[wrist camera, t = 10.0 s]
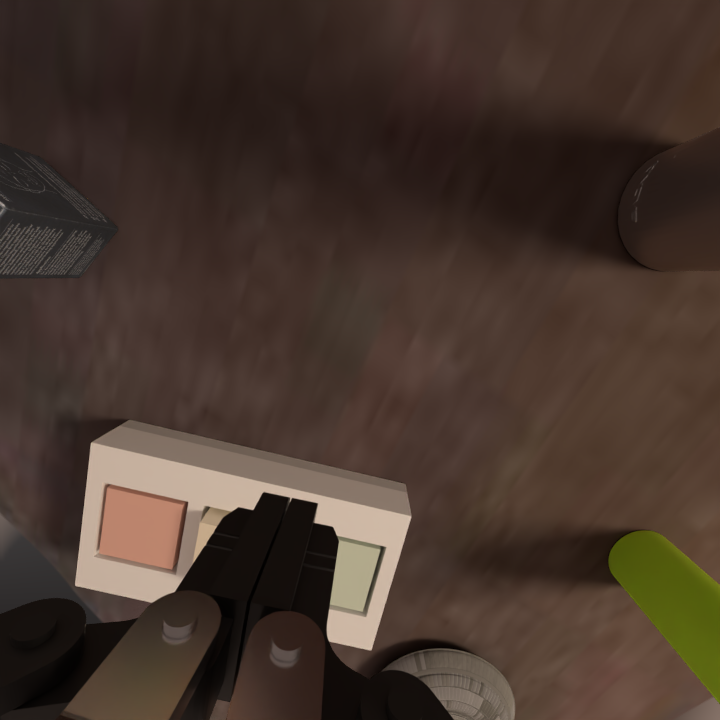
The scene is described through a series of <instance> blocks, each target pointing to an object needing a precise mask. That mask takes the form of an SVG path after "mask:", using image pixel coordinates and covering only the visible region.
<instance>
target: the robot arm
mask: <svg viewBox="0 0 720 720" xmlns="http://www.w3.org/2000/svg"><path fill="white" fill-rule="evenodd" d="M618 227H619V234H620V237H621V239H622V242H623V244H624V246H625V248H626V249H627V251H628V252H629V253H630V255H631V256H632V257H633V258H634V259H636V260H637V261H638V262H639V263H640V264H642V265H644V266H646V267H648V268H650V269H654V270H658V271H670V272H677V271H720V127H719V128H717V129H715V130H712V131H710V132H707V133H705V134H703V135H701V136H698V137H696V138H694V139H692V140H689V141H687V142H685V143H682V144H680V145H678V146H675V147H673V148H671V149H668V150H666V151H664V152H661V153H659V154H657V155H656V156H654V157H653V158H651V159H650V160H648V161H647V162H645V163H644V164H643V165H642V166H641V167H640V168H639V169H638V170H637V171H636V172H635V174H634V175H633V176H632V178H631V179H630V181H629V182H628V183H627V186H626V188H625V190H624V192H623V194H622V197H621V201H620V205H619V209H618ZM317 507H318V503H315V502H310V501H305V500H300V499H296V498H292V499H291V501H290V497H285V496H281V495H276V494H271V493H266V492H263V493H262V495H261V497H260V499H259V501H258V502H257V504H256V506H255V508H254V510H250V509H245V508H240V507H238V508H236V509H235V510H233V511H232V512H230V513H229V514H227V515H226V516H224V517H223V518H222V520H221V521H220V523H219V524H218V526H217V527H216V529H215V530H214V533H213V534H212V535H211V537H210V538H209V540H208V541H207V543H206V546H204V547H203V549H202V551H201V552H200V554H199V555H198V557H197V558H196V560H195V561H194V563H193V564H192V566H191V567H190V569H189V571H188V572H187V574H186V575H185V577H184V578H183V580H182V581H181V583H180V584H179V586H178V588H177V589H176V591H175V592H173V593H170V594H167V595H165V596H163V597H161V598H159V599H157V600H156V601H154V602H153V603H152V604H151V605H149V606H148V607H147V608H146V609H145V610H144V612H143V613H142V614H141V615H140V617H139V618H136V619H132V620H127V621H120V622H109V623H97V624H86V614H85V611H84V610H83V608H82V607H81V606H80V605H79V604H77V603H76V602H74V601H72V600H68V599H61V598H51V599H43V600H38V601H34V602H31V603H28V604H25V605H22V606H20V607H17V608H15V609H12V610H10V611H7V612H5V613H2V614H0V720H209V719H210V716H211V714H212V711H213V708H214V706H215V703H216V701H217V699H218V700H223V701H228V702H230V701H231V703H230V707H229V710H228V714H227V718H226V720H454V719H453V718H452V716H451V715H450V714H449V713H448V711H447V710H446V709H445V707H444V706H443V705H442V703H441V702H440V701H439V699H438V698H437V697H436V696H435V694H434V693H433V692H432V691H431V689H430V688H429V687H428V686H427V685H426V684H425V683H424V682H423V681H421V680H420V679H418V678H417V677H415V676H414V675H412V674H410V673H407V672H404V671H399V670H386V671H382V672H380V673H378V674H376V675H375V676H373V677H372V678H371V679H370V680H369V679H367V678H366V677H364V676H362V675H360V674H359V673H357V672H355V671H354V670H352V669H350V668H349V667H348V666H346V665H345V664H344V663H343V662H342V661H341V660H340V659H339V658H338V657H337V656H336V654H335V653H334V651H333V650H332V648H331V646H330V643H329V640H328V637H327V621H328V614H329V607H330V600H331V593H332V586H333V580H334V572H335V566H336V558H337V552H338V545H339V540H338V537H337V535H336V532H335V530H334V528H333V527H332V526H327V525H322V524H318V523H314V522H315V517H316V512H317ZM232 695H233V696H232ZM231 698H232V699H231Z"/></svg>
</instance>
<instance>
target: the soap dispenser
mask: <svg viewBox="0 0 720 720" xmlns="http://www.w3.org/2000/svg"><path fill="white" fill-rule="evenodd" d="M608 564H609V569H610V571H611V573H612V575H613V576H614V577H615V578H616V580H617V581H618V582H619V583H620V584H621V586H622V587H623V588H624V589H625V590H626V592H627V593H628V594H629V595H630V597H631V598H632V599H633V600H634V601H635V603H636V604H637V605H638V606H639V607H640V609H641V610H642V611H643V612H644V613H645V615H646V616H647V617H648V618H649V619H650V621H651V622H652V623H653V624H654V625H655V627H656V628H657V629H658V630H659V631H660V633H661V634H662V635H663V636H664V637H665V639H666V640H667V641H668V642H669V643H670V645H671V646H672V647H673V648H674V649H675V651H676V652H677V653H678V654H679V656H680V657H681V658H682V659H683V660H684V662H685V663H686V664H687V665H688V666H689V668H690V669H691V670H692V671H693V672H694V674H695V675H696V676H697V677H698V678H699V680H700V681H701V682H702V683H703V684H704V686H705V687H706V688H707V689H708V690H709V692H710V693H711V694H712V695H713V696H714V698H715V699H716V700H717V701H718V702H719V704H720V585H719V584H718V583H717V582H716V581H714V580H713V579H712V578H711V577H710V576H709V575H708V574H706V573H705V572H704V571H703V570H702V569H701V568H699V567H698V566H697V565H696V564H695V563H694V562H693V561H691V560H690V559H689V558H688V557H687V556H686V555H685V554H683V553H682V552H681V551H680V550H679V549H678V548H676V547H675V546H674V545H673V544H672V543H671V542H670V541H668V540H667V539H666V538H665V537H664V536H662V535H661V534H659V533H656V532H653V531H647V530H642V531H635V532H632V533H629V534H627V535H625V536H624V537H622V538H621V539H620V540H618V541H617V542H616V543H615V545H614V546H613V548H612V549H611V551H610V554H609V559H608Z"/></svg>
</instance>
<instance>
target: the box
mask: <svg viewBox="0 0 720 720" xmlns="http://www.w3.org/2000/svg"><path fill="white" fill-rule="evenodd" d="M117 230H118V228H117V226H116V225H115V224H114V223H113V222H111V221H110V220H109V219H108V218H107V217H106V216H105V215H104V214H103V213H102V212H100V211H99V210H98V209H97V208H96V207H95V206H94V205H93V204H92V203H91V202H89V201H88V200H87V199H86V198H85V197H84V196H83V195H82V194H81V193H79V192H78V191H77V190H76V189H75V188H74V187H73V186H72V185H71V184H70V183H69V182H67V181H66V180H65V179H64V178H63V177H62V176H61V175H60V174H59V173H57V172H56V171H55V170H54V169H53V168H52V167H51V166H50V165H49V164H47V163H46V162H45V161H44V160H43V159H42V158H41V157H39V156H36V155H33V154H30V153H28V152H25V151H22V150H19V149H16V148H13V147H10V146H8V145H5V144H2V143H0V278H6V279H7V278H79V277H81V276H82V274H83V273H84V272H85V271H86V270H87V268H88V267H89V266H90V264H91V263H92V262H93V261H94V259H95V258H96V257H97V256H98V254H99V253H100V252H101V251H102V249H103V248H104V247H105V246H106V244H107V243H108V242H109V240H110V239H111V238H112V237H113V235H114V234H115V233H116V232H117Z"/></svg>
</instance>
